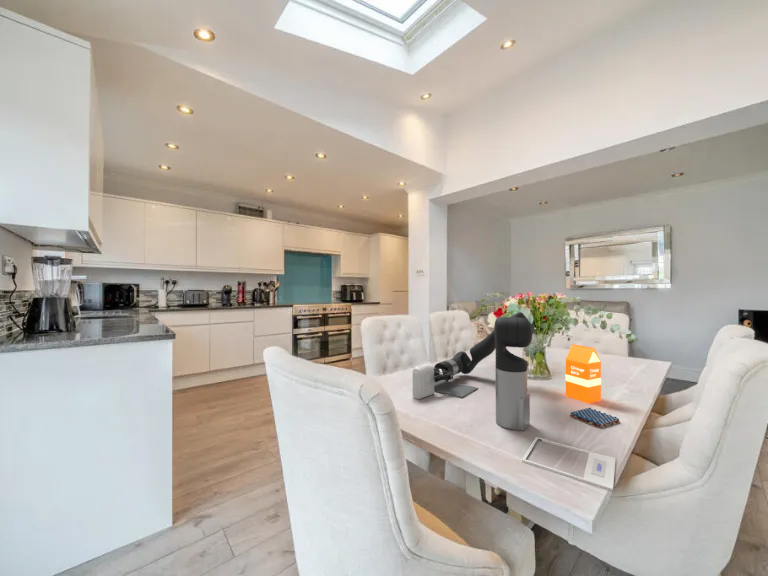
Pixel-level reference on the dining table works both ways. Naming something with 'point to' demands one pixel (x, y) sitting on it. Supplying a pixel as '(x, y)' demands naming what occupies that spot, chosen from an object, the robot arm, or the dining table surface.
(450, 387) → the charcoal mat
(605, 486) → the photo frame
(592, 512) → the dining table surface
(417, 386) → the photo printer
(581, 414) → the woven mat
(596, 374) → the orange juice
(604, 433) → the dining table surface
